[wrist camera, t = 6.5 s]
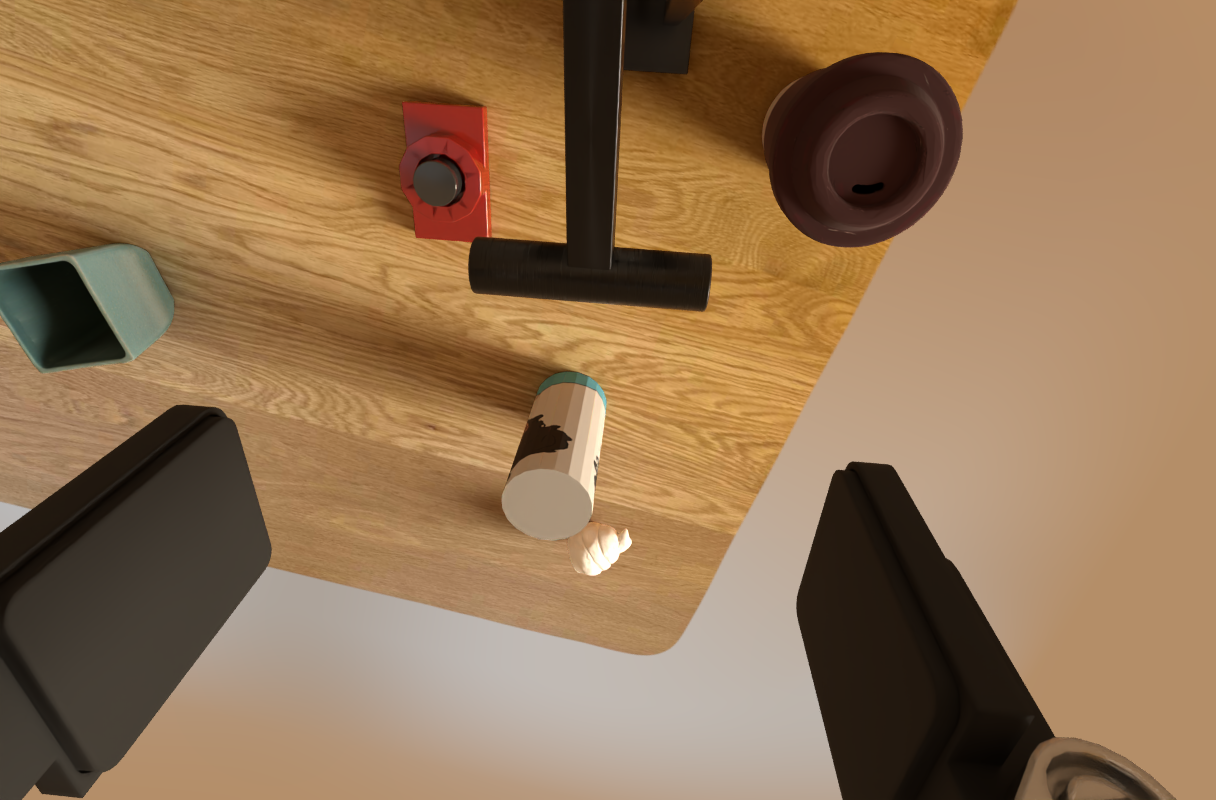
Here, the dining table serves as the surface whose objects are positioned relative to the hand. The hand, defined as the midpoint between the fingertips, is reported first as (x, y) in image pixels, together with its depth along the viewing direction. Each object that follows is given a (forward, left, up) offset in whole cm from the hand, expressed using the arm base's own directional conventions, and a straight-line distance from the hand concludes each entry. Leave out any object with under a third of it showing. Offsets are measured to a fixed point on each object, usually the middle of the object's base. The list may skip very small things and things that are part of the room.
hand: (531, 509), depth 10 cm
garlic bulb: (+38, 0, -42) cm, 57 cm away
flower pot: (+14, -43, -42) cm, 62 cm away
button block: (+3, -14, -42) cm, 44 cm away
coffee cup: (-2, +13, -42) cm, 44 cm away
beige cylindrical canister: (+23, -4, -42) cm, 48 cm away
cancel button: (+3, -14, -39) cm, 42 cm away
